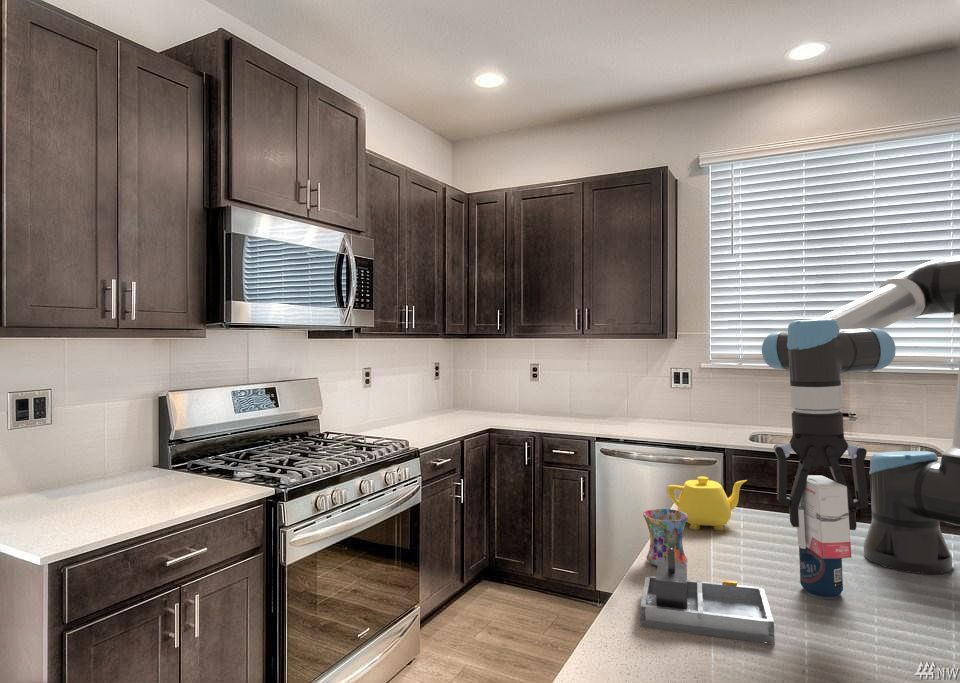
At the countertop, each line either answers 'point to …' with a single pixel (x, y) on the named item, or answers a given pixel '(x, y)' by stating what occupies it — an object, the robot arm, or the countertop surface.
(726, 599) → the divided grey tray
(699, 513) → the teapot
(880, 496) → the robot arm
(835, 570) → the soda can
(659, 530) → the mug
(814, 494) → the ink box
